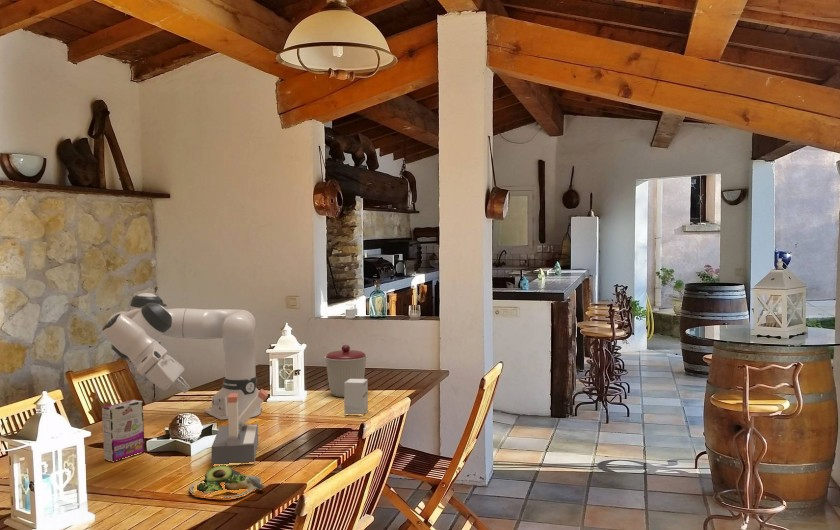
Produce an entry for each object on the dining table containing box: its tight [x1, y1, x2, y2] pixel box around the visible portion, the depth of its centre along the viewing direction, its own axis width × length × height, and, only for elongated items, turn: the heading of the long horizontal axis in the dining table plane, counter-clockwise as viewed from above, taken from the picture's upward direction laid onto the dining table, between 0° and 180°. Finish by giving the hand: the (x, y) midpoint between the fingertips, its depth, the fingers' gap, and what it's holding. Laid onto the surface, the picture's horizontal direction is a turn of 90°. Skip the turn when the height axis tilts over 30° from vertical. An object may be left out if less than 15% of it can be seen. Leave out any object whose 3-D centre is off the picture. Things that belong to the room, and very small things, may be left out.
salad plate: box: [188, 465, 266, 498], centre depth 184 cm, size 19×18×5 cm
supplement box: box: [343, 378, 369, 415], centre depth 259 cm, size 7×7×13 cm
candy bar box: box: [101, 399, 146, 461], centre depth 211 cm, size 11×5×16 cm, turn 148°
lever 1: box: [227, 393, 239, 437], centre depth 205 cm, size 3×5×14 cm, turn 10°
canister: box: [323, 344, 368, 398], centre depth 290 cm, size 18×18×21 cm
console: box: [211, 423, 259, 466], centre depth 213 cm, size 12×23×8 cm, turn 10°
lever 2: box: [238, 388, 269, 427], centre depth 220 cm, size 3×5×14 cm
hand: (187, 390), depth 202 cm, fingers closed
